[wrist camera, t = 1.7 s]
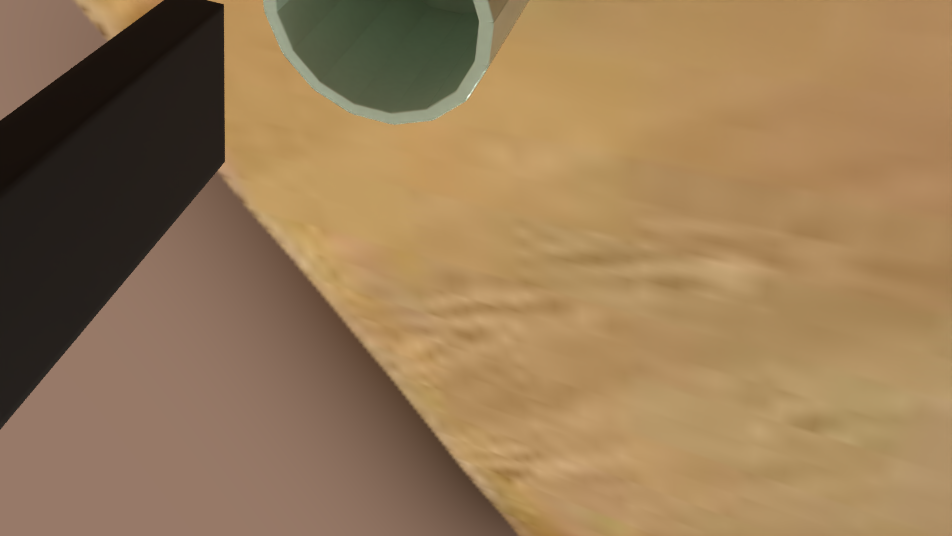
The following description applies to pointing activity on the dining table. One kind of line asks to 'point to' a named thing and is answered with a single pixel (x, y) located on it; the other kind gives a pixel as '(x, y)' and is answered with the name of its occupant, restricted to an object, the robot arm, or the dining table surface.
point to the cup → (393, 51)
